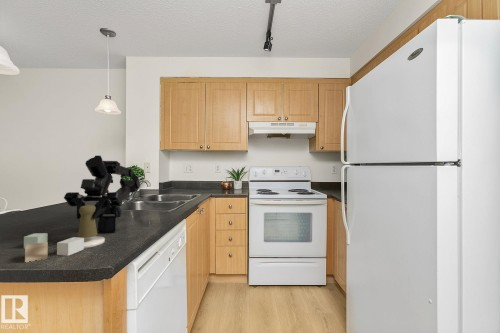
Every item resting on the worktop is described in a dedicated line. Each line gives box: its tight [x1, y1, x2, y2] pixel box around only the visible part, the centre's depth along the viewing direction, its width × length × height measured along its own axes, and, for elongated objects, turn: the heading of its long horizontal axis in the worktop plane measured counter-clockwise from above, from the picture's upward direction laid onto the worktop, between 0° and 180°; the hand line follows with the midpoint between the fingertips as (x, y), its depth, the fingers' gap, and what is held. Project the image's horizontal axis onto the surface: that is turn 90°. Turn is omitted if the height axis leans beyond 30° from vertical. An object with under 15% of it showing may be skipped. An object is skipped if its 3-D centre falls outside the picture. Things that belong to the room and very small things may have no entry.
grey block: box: [56, 236, 85, 256], centre depth 79 cm, size 6×4×4 cm, turn 172°
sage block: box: [23, 232, 48, 249], centre depth 85 cm, size 4×4×4 cm
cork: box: [77, 204, 98, 238], centre depth 88 cm, size 6×6×11 cm
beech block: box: [24, 241, 49, 263], centre depth 74 cm, size 5×5×4 cm
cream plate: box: [84, 235, 106, 249], centre depth 88 cm, size 11×11×1 cm
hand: (85, 218), depth 87 cm, fingers closed on cork, 5 cm apart
